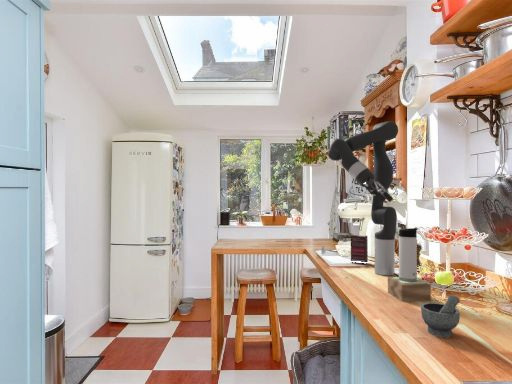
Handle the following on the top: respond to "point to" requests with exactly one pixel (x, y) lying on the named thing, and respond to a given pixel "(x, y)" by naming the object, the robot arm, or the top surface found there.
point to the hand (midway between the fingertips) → (388, 200)
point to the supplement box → (359, 248)
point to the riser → (409, 289)
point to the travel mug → (408, 254)
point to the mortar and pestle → (441, 316)
